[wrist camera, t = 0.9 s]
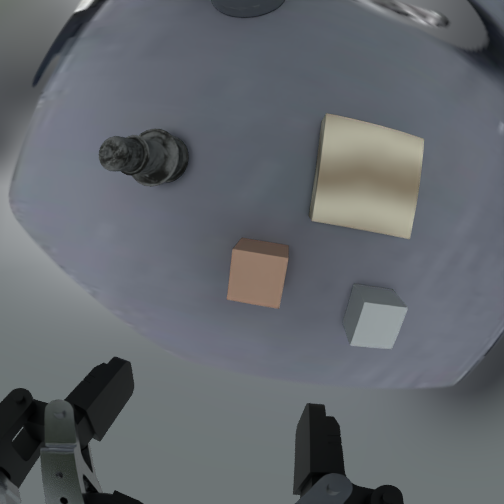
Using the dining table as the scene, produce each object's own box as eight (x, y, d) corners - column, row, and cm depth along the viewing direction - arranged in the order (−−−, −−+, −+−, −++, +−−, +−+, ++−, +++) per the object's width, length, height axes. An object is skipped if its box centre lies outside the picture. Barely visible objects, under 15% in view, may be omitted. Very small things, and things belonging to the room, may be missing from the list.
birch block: (321, 122, 25) (326, 113, 22) (408, 143, 24) (424, 139, 21) (308, 215, 28) (311, 220, 24) (395, 231, 27) (409, 239, 23)
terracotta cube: (241, 237, 29) (232, 249, 25) (288, 245, 29) (288, 258, 24) (236, 280, 31) (226, 299, 26) (280, 288, 30) (278, 308, 25)
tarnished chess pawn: (160, 124, 27) (94, 103, 16) (201, 148, 27) (146, 132, 16) (135, 169, 29) (63, 170, 17) (173, 194, 29) (109, 207, 17)
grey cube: (353, 283, 29) (364, 302, 24) (392, 289, 29) (407, 307, 24) (342, 322, 30) (350, 345, 26) (379, 326, 30) (391, 349, 25)
